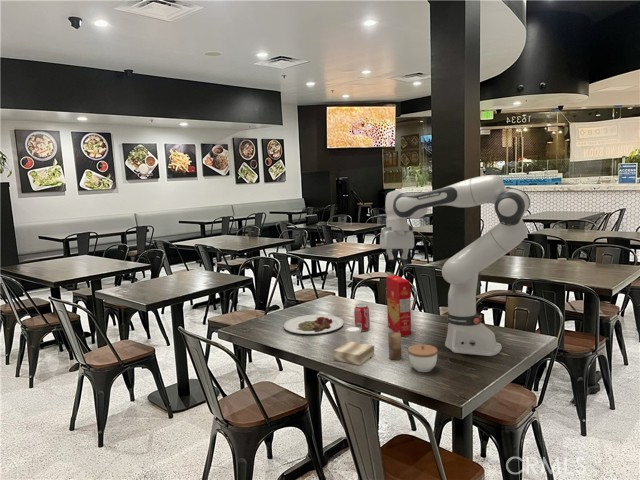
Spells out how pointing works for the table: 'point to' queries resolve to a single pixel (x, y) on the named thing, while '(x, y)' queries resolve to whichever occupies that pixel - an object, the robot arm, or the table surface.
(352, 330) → the shot glass
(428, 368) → the lidded jar
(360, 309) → the soda can
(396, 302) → the food packaging
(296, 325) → the plated food
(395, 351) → the walnut cylinder
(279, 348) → the table surface
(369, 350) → the birch riser
